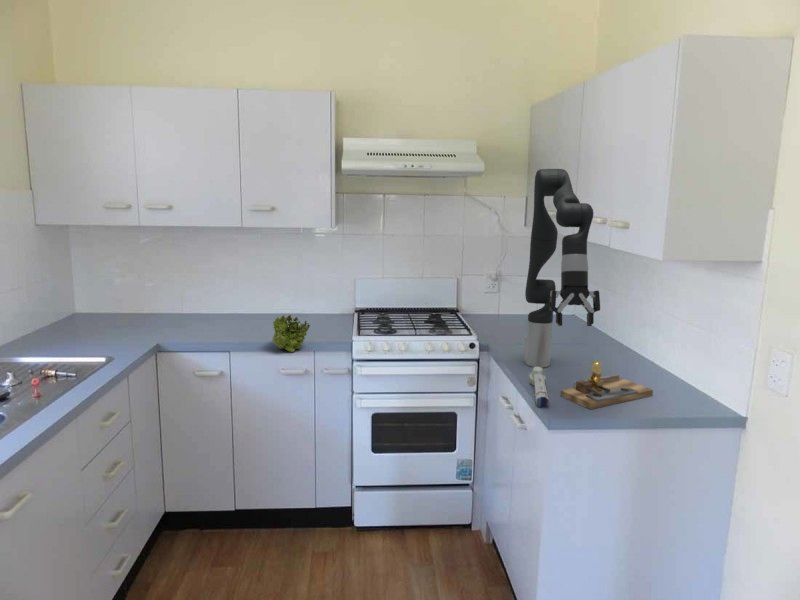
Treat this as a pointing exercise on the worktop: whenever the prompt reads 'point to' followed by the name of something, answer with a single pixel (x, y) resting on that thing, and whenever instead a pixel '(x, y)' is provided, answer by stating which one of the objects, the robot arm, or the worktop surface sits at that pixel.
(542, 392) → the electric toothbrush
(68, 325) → the worktop surface
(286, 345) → the green bumpy lump
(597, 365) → the gold l-shaped piece
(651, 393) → the board
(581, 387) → the brown block with stem
